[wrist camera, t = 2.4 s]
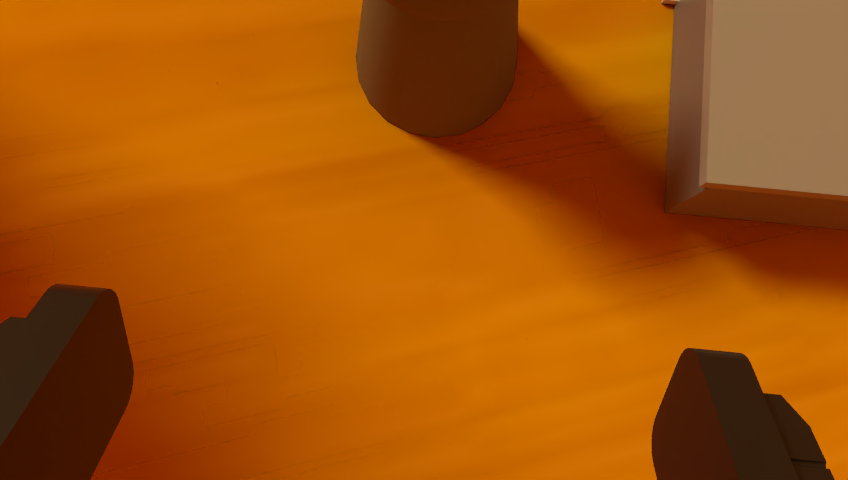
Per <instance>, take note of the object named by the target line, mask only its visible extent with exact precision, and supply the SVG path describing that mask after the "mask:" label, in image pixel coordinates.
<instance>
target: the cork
mask: <svg viewBox="0 0 848 480" xmlns="http://www.w3.org/2000/svg"><path fill="white" fill-rule="evenodd" d="M517 34H518V0H363V5H362V13H361V21H360V29H359V37H358V45H357V53H356V61H357V70H358V78H359V82H360V84H361V87H362V89H363V91H364V93H365V95H366V97H367V99H368V101H369V103H370V104H371V105H372V106H373V107H374V108H375V109H376V110H377V111H378V112H379V113H380V114H381V115H382V117H383V118H384V119H385V120H386V121H388V122H390V123H392V124H393V125H395V126H397V127H399V128H401V129H403V130H405V131H407V132H409V133H412V134H418V135H423V136H429V137H434V138H435V137H443V136H451V135H459V134H462V133H464V132H466V131H468V130H471V129H473V128H475V127H477V126H479V125H481V124H483V123H484V122H485V121H486V120H488V119H489V118H490V117H491V116H492V115H493V114H494V113H495V112H496V111H497V110H498V109H499V108H501V106H502V104H503V103H504V101H505V99H506V97H507V95H508V93H509V92H510V90H511V88H512V86H513V81H514V75H515V70H516V64H517Z"/></svg>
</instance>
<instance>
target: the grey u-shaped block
mask: <svg viewBox="0 0 848 480" xmlns="http://www.w3.org/2000/svg"><path fill="white" fill-rule="evenodd" d="M661 3H663V4H673V5H676V6H675V7H674V26H673V48H672V69H671V91H670V112H669V133H668V155H667V176H666V198H665V212H667V213H678V214H688V215H698V216H709V217H719V218H729V219H740V220H750V221H760V222H771V223H781V224H791V225H801V226H812V227H822V228H832V229H843V230H848V0H662V2H661Z"/></svg>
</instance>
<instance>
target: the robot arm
mask: <svg viewBox="0 0 848 480" xmlns="http://www.w3.org/2000/svg"><path fill="white" fill-rule="evenodd" d="M133 374H134V371H133V362H132V358H131V353H130V349H129V344H128V340H127V336H126V331H125V327H124V322H123V318H122V314H121V309H120V305H119V301H118V297H117V295H116V293H115V292H114V291H113V290H111V289H105V288H95V287H84V286H74V285H64V284H55V285H53V286H51V287H50V288H49V289H48V290H47V291H46V292H45V293H44V295H43V296H42V297H41V299H40V300H39V301H38V303H37V304H36V305H35V307H34V308H33V310H32V311H31V312H30V314H29V315H28V316H27V318H17V317H10V318H8V319H7V320H6V321H4V322H3V323H1V324H0V480H90V479H91V477H92V475H93V473H94V471H95V469H96V467H97V465H98V463H99V461H100V459H101V457H102V455H103V453H104V451H105V449H106V447H107V445H108V443H109V441H110V439H111V437H112V435H113V433H114V431H115V429H116V427H117V425H118V423H119V421H120V419H121V417H122V415H123V413H124V411H125V409H126V407H127V404H128V402H129V399H130V395H131V391H132V385H133ZM652 457H653V463H654V468H655V472H656V476H657V480H834V478H833V475H832V473H831V471H830V469H826V460H825V458H824V456H823V454H822V452H821V450H820V447H819V445H818V443H817V441H816V439H815V437H814V434H813V432H812V430H811V428H810V426H809V425H808V424H807V423H806V422H805V421H804V420H803V419H802V418H801V416H800V415H799V414H798V413H797V412H796V411H795V410H794V409H793V408H792V407H791V406H790V404H789V403H788V402H787V401H786V400H785V399H784V398H783V397H782V396H781V395H775V394H765V393H763V392H762V389H761V387H760V385H759V382H758V380H757V377H756V375H755V373H754V370H753V368H752V365H751V363H750V361H749V360H748V358H747V357H746V356H745V355H744V354H742V353H734V352H724V351H714V350H704V349H694V348H687V349H685V350H684V351H683V353H682V354H681V356H680V358H679V360H678V363H677V365H676V368H675V370H674V373H673V375H672V378H671V380H670V383H669V385H668V388H667V390H666V393H665V395H664V398H663V400H662V403H661V405H660V407H659V410H658V412H657V415H656V418H655V421H654V425H653V431H652Z"/></svg>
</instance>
